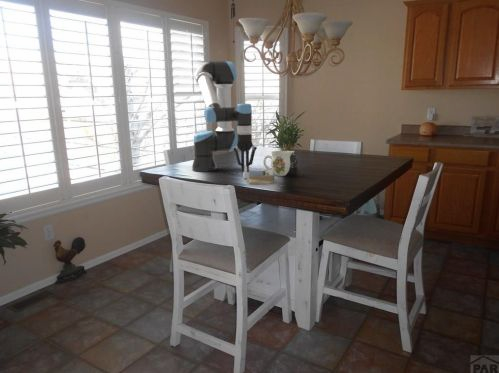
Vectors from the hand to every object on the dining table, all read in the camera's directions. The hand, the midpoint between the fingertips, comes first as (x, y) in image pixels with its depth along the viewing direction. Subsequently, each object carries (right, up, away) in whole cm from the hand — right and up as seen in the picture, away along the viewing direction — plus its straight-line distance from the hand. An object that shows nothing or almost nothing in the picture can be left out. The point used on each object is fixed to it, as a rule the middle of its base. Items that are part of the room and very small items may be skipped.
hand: (245, 177), depth 213 cm
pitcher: (+19, +2, +17) cm, 26 cm away
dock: (+6, -2, +2) cm, 7 cm away
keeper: (+5, -2, +2) cm, 6 cm away
